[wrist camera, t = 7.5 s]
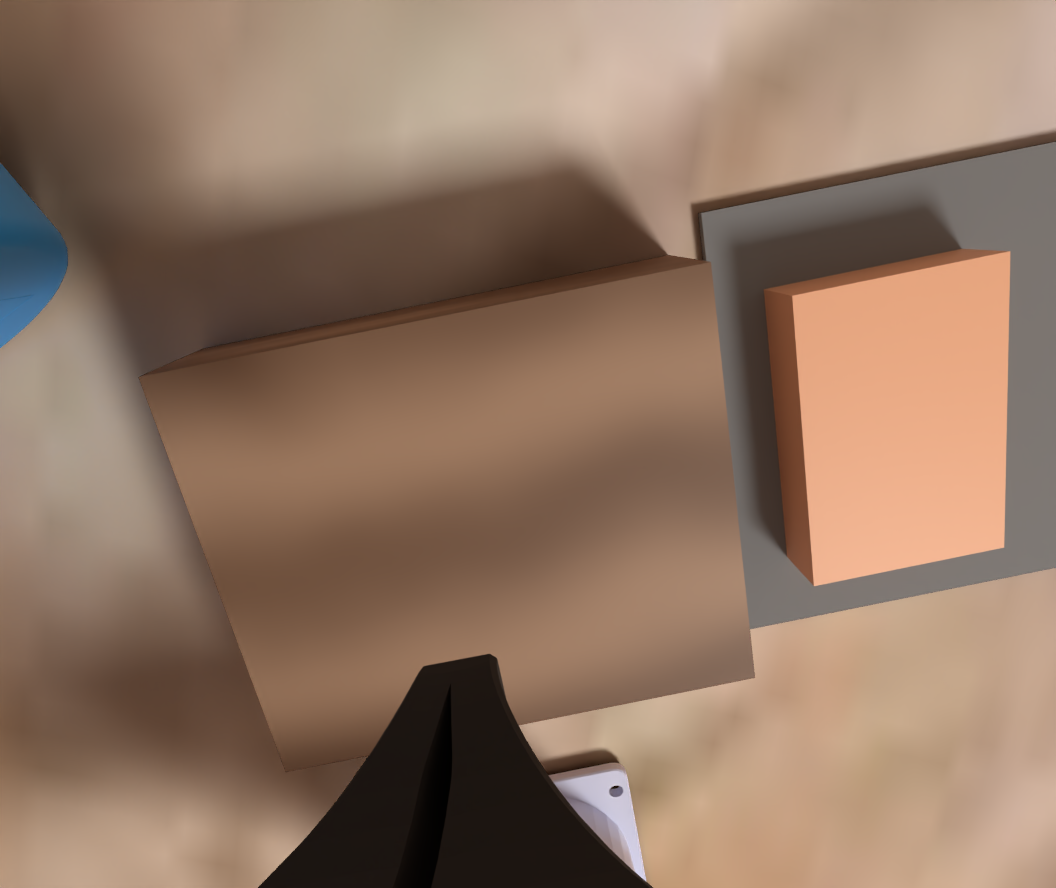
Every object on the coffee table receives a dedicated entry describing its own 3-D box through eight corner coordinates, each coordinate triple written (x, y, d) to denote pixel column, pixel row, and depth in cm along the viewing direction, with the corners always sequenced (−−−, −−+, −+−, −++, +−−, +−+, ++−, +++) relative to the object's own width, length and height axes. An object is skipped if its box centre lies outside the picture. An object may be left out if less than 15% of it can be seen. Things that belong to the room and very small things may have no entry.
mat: (1077, 557, 24) (1084, 561, 24) (743, 625, 24) (746, 630, 24) (1103, 131, 20) (1112, 130, 20) (698, 213, 20) (701, 213, 20)
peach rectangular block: (814, 586, 21) (787, 556, 23) (1004, 547, 21) (961, 521, 23) (792, 295, 19) (763, 289, 21) (1010, 250, 19) (961, 248, 21)
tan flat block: (712, 606, 24) (755, 677, 20) (316, 685, 24) (285, 772, 20) (668, 255, 20) (710, 262, 17) (202, 348, 20) (138, 376, 17)
